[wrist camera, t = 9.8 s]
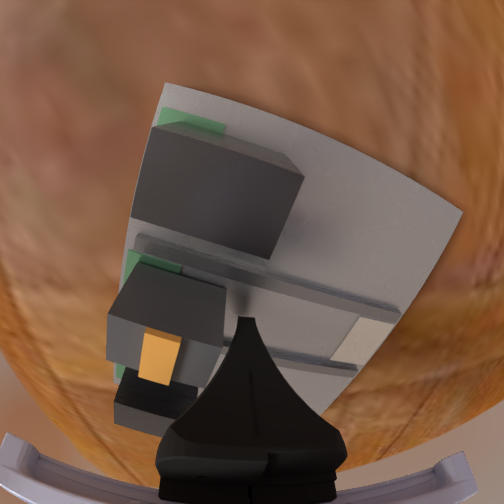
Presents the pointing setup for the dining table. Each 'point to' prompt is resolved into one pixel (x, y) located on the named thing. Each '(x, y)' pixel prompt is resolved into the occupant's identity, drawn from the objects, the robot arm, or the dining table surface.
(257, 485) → the robot arm
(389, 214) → the panel
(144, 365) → the breaker
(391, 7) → the dining table surface
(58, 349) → the dining table surface
